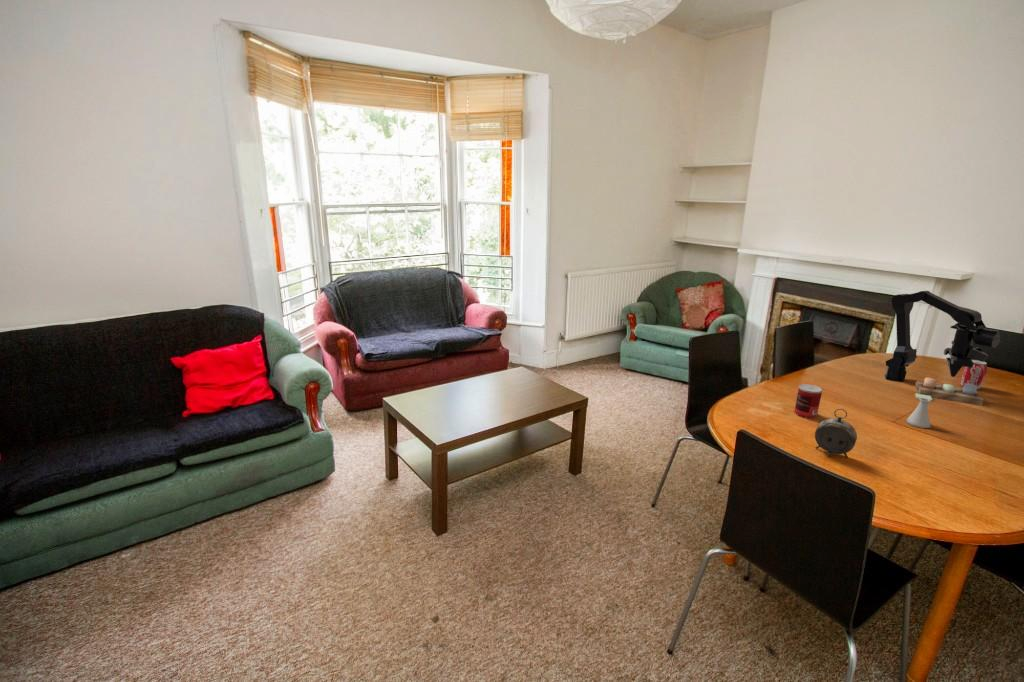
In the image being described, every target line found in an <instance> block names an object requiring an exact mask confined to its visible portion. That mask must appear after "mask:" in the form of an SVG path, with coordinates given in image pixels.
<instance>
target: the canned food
mask: <svg viewBox="0 0 1024 682" xmlns="http://www.w3.org/2000/svg"><path fill="white" fill-rule="evenodd" d="M822 393H823V388H821V387H819V386H817V385H813V384H809V383H807V384H805V383H802V384H800V385H798V389H797V394H796V395H797V396H796V400H795V405H794V410H793V411H794V413H796V414H795V415H797V414H798V415H800V416H802V417H801V418H804V417H807V418H806V419H815V418H817V416H818V413H819V409H820V408H819V407H820V404H821V400H822V399H821V398H822ZM798 415H797V416H798ZM800 416H799V417H800Z"/></svg>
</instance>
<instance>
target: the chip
mask: <svg viewBox="0 0 1024 682" xmlns="http://www.w3.org/2000/svg"><path fill="white" fill-rule="evenodd" d="M914 396H915V398H916V399H917V400H920V399H919V398H926V399H929V400H930V402H933V397H931V396H929V395H923V394H919V393H918V392H916V393H915V394H914Z"/></svg>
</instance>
